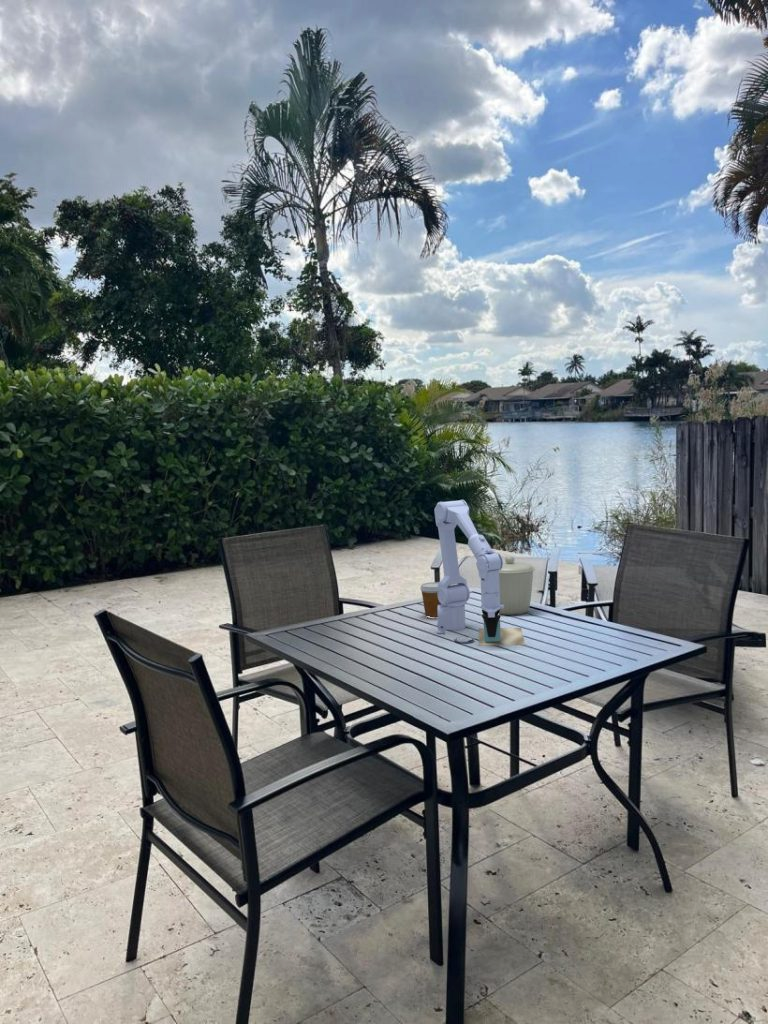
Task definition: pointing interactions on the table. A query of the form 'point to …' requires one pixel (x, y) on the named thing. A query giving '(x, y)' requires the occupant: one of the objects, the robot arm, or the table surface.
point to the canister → (515, 586)
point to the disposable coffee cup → (430, 598)
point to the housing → (492, 639)
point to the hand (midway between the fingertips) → (491, 634)
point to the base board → (504, 637)
